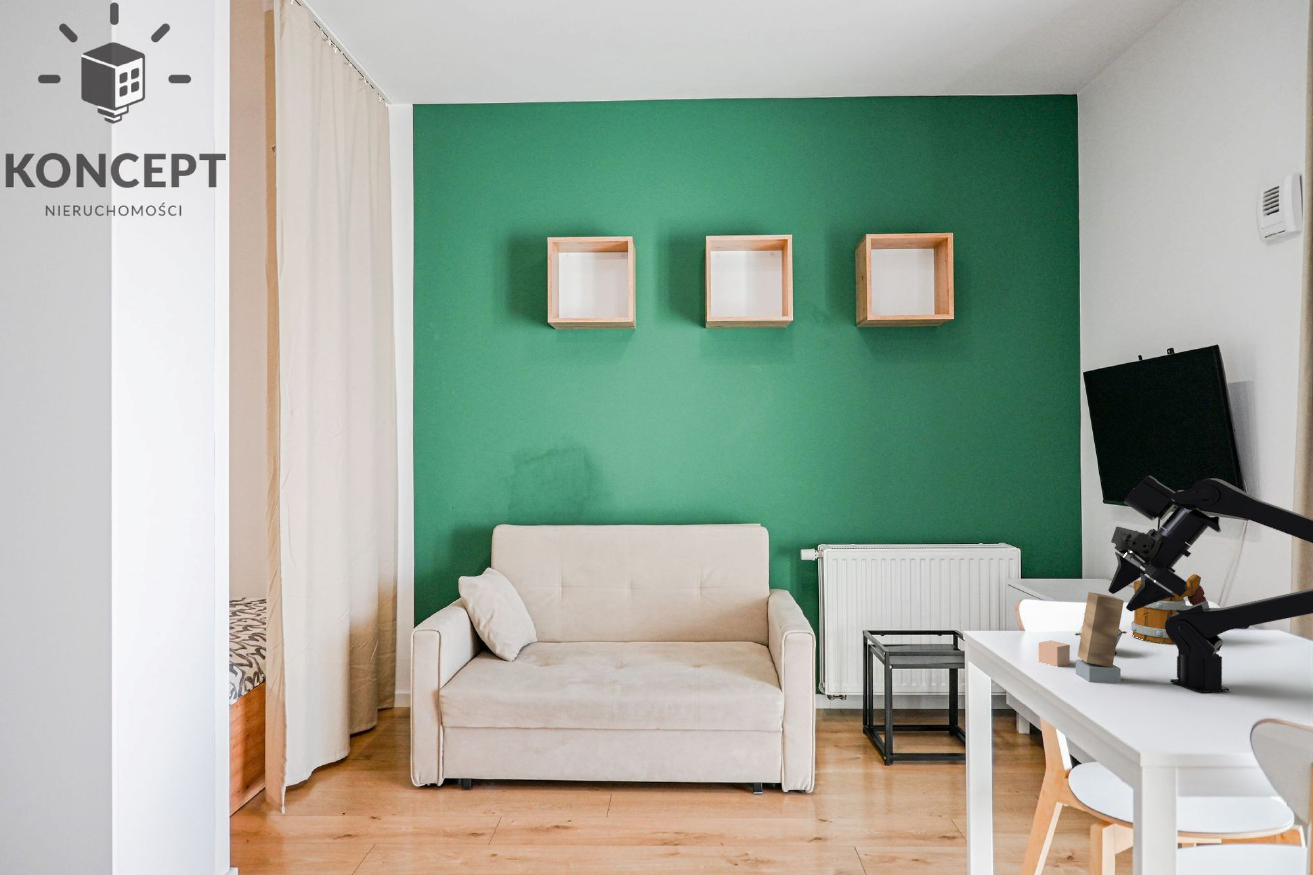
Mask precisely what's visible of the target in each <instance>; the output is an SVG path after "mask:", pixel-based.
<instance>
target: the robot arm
mask: <svg viewBox="0 0 1313 875" xmlns="http://www.w3.org/2000/svg"><path fill="white" fill-rule="evenodd" d="M1123 503H1124V504H1125V505H1127V506H1129V507H1130V508H1132V509H1133V510H1134V511H1136V512H1138V513H1139V514H1141V515H1142V516H1144V517H1146V518H1147V519H1149V520H1150V521H1152V522H1153V521H1154V520H1156V519H1157V518H1158V519H1159V520H1160V521H1163V520H1164V519H1165V518H1166V517H1167V516H1168V514H1170V513H1171V515H1169V517H1168V518H1167V519H1166V520H1165V521H1164V523H1163V524H1161V526H1160V527H1158V529H1154V528H1152V529H1149V530H1148V531H1147V533H1146V532H1143V531H1142V532H1140V531H1138V530H1133V529H1129V528H1127V527H1122V526H1115V528H1114V532H1113V534H1112V538H1111V541H1110V542H1111V543H1112V544H1115V545H1114V550H1116V551H1115V552H1114V555H1115V556H1116V560H1117V567H1116V570H1115V573H1114V575H1113V577H1112V579H1111V582H1110V585H1109V587H1108V589H1107V591H1108V592H1109V593H1111V594H1112V595H1114V594H1116V593H1118V592H1120V591H1121V590H1123V589H1125V588H1126V587H1128V586H1130V585H1131V584H1133V583H1134V582H1135V581H1138V579H1139V580H1141V585H1140V586H1139V588H1138V589H1137V591H1136V592H1134V594H1133V595H1132V597H1131V598H1130V600H1129V601H1128V603H1127V604H1126V607H1125V609H1126V610H1128V611H1129V612H1134V610H1137V609H1139V608H1142V607H1144V606H1147V605H1149V604H1152V603H1155V602H1157V601H1160V600H1163V599H1166V598H1169V597H1173V598H1174V597H1175V595H1174V594H1172V592H1173V593H1175V594H1177V595H1178V596H1180V597H1181V596H1182V595H1183V594H1184V593H1185V591H1186V590H1187V589H1188V587H1187V582H1186V581H1187V580H1185V579H1183V578H1182V577H1180V576H1179V575H1178V574H1177V573H1175V572H1176V569H1174V568H1173V567H1174V566H1176V564H1177V563H1178V562H1179V561H1180V560H1181V558H1182V557H1183V556H1184V557H1186V558H1189V557H1190V556H1191V554H1192V552H1190V551H1188V550H1189V549H1190V548H1191V547H1192V546H1193V545H1194V543H1195V542H1196V541H1197V540H1198V539H1199V538H1200V537H1201V536H1202V534H1203V533H1205V531H1206V530H1207V529H1208V528H1210V529H1211V530H1213V531H1215V532H1216V533H1221V532H1222V529H1221V525H1220V517H1219V516H1218V515H1219V514H1220V515H1224V516H1230V517H1235V518H1241V519H1245V520H1249V521H1251V522H1254V523H1257V524H1260V525H1263V526H1265V527H1268V528H1270V529H1273V530H1275V531H1279V532H1281V533H1283V534H1286V535H1290V536H1292V537H1295V538H1298V539H1300V540H1303V541H1305V542H1309V543H1312V544H1313V518H1311V517H1309V516H1306V515H1303V514H1300V513H1298V512H1294V511H1292V510H1289V509H1286V508H1283V507H1280V506H1278V505H1274V504H1272V503H1269V502H1266V501H1263V500H1261V499H1258V498H1257V497H1254V496H1252V495H1251V494H1249V493H1247V492H1245V491H1244V490H1242V489H1240V488H1238V487H1236V486H1234V485H1232V484H1231V483H1229V482H1227V481H1225V480H1223V479H1220V478H1204V479H1201V480H1197V481H1196V482H1195V483H1194V484H1193V485H1192V487H1190V488H1189V489H1186V490H1184V489H1179V490H1176V491H1174V490H1173V489H1172V488H1169V487H1167V486H1166V485H1164V484H1163V483H1161V482H1160V481H1158V479H1156V478H1155V477H1153V476H1152V475H1147V476H1145V477H1144V479H1143V480H1141V481H1140V482H1139V483H1138V484H1137V485H1136V486H1135V487H1134V488H1132V489H1131V490H1130V491H1129V493H1128V494H1127V496H1126V497H1125V499H1124V501H1123ZM1181 504H1182V505H1181ZM1183 505H1194V508H1193V509H1192V510H1189V509H1188V508H1185V507H1184V506H1183ZM1175 507H1176V509H1175V510H1174V511H1173V512H1171V511H1172V510H1173V509H1174V508H1175ZM1203 511H1206V512H1210V513H1214V514H1218V515H1217V516H1209V515H1208V514H1207V513H1205V512H1203ZM1118 552H1119V553H1118ZM1142 568H1143V569H1142ZM1176 612H1177V613H1175V614H1173V615H1172V616H1170V617H1169V618H1168V619H1167V621H1166V623H1165V630H1166V633H1167V635H1168V637H1169V638H1170V639H1171V640H1172V641H1174V642H1175V643H1176V644H1175V645H1176V648H1177V650H1178V655H1177V656H1176V678H1171V679H1170V683H1172V684H1175V685H1178V686H1181V687H1182V688H1183V687H1184V688H1187V689H1190V690H1192V691H1194V692H1197V693H1214V692H1215V693H1216V692H1218V693H1219V692H1230V687H1226V686H1223V657H1222V656H1220V654H1218V652H1219V651H1220V650H1221V648H1222V647H1223V644H1224V640H1223V639H1222V638H1221V637H1220V636H1219V635H1221V634H1223V633H1225V632H1227V631H1231V630H1236V629H1240V628H1247V627H1251V626H1256V625H1261V624H1266V623H1271V622H1275V621H1281V620H1285V619H1291V618H1296V617H1301V616H1306V615H1310V614H1313V588H1309V589H1304V590H1303V589H1302V590H1299V591H1295V592H1290V593H1286V594H1281V595H1277V596H1272V597H1267V598H1262V599H1259V600H1258V599H1257V600H1255V601H1254V600H1253V601H1248V602H1244V603H1239V604H1234V605H1231V606H1226V607H1210V605H1209V601H1208V600H1206V601H1204V602H1202V603H1199V604H1197V605H1192V604H1191V605H1184V606H1182V607H1181V608H1179V609H1177V610H1176Z"/></svg>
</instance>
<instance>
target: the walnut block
mask: <svg viewBox="0 0 1313 875" xmlns="http://www.w3.org/2000/svg"><path fill="white" fill-rule="evenodd" d="M1123 608H1124V600H1123V599H1120V598H1119V597H1116V596H1113V595H1108V594H1107V595H1106V594H1101V593H1096V592H1092V591H1088V594H1087V597H1086V604H1085V610H1084V611H1085V612H1084V613H1085V614H1083V615H1084V616H1083V622H1082V626H1083V627H1082V626H1081V628H1082V632H1081V636H1080V639H1079V644H1078V651H1077V657H1078V658H1079V660H1084V661H1085V662H1087V663H1092V664H1097V665H1102V666H1107V667H1113V665H1114V662H1115V661H1114V660H1115V656H1116V654H1115V651H1116V648H1117V646H1116V644H1117V638H1118V632H1119V629H1120V627H1121V626H1120V625H1121V620H1122V614H1123ZM1117 645H1118V644H1117Z"/></svg>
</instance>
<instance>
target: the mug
mask: <svg viewBox="0 0 1313 875" xmlns="http://www.w3.org/2000/svg"><path fill="white" fill-rule="evenodd" d="M1201 580H1202V577H1201V576H1200V575H1198V574H1195V573H1194V574H1191V575H1190V576H1189V577H1188V578H1187V579H1186V580H1185V581H1186V582H1187V587H1188V589H1187V590H1186V591H1185V593H1184V594H1183V595H1182V596H1181V597H1180V596H1178V595H1177V594H1175V593H1173V592H1172V594H1174V595H1175V597H1174V598H1173V597H1169V598H1166V599H1163V600H1160V601H1157V602H1155V603H1152V604H1149V605H1147V606H1144V607H1142V608H1139V609H1137V610H1134V611H1133V612H1134V614H1133V615H1134V616H1133V617H1134V618H1133V621H1131V623H1130V624H1131V626H1130V627H1131V628H1130V629H1131V631H1132V634H1133V635H1134V636H1135V637H1138V638H1140V639H1143V640H1142V641H1146V642H1148V641H1151V642H1150V643H1156V644H1160V643H1162V644H1165V645H1176V643H1175V642H1174V641H1172V640H1171V639H1170V638H1169V637H1168V635H1167V633H1166V630H1165V623H1166V621H1167V619H1168V618H1169V617H1170V616H1172V615H1173V614H1175V613H1177V612H1176V610H1177V609H1179V608H1181V607H1182V606H1184V605H1186V603H1187V602H1186V600H1185V599H1184V598H1187V601H1188V602H1189V604H1190V605H1191V606H1192V605H1197V604H1199V603H1202V602H1204V601H1207V599H1206V598H1207V597H1206V596H1205V591H1204V589H1203V586H1201ZM1140 585H1141V579H1139V580H1135V581H1134V582H1133V589H1134V591H1133V592H1134V593H1135V592H1136V591H1137V589H1138V588H1139V586H1140ZM1133 635H1132V636H1133ZM1135 637H1134V638H1135ZM1140 639H1139V640H1140Z"/></svg>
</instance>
